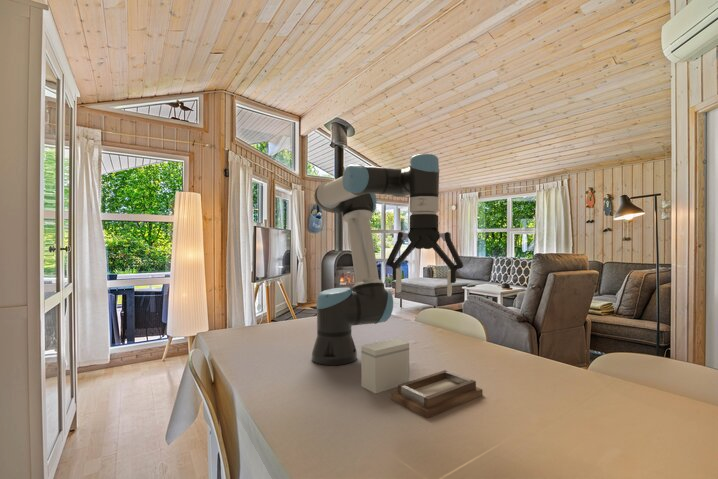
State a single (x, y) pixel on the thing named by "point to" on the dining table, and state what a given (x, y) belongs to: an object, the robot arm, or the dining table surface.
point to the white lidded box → (384, 365)
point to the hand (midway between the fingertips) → (423, 293)
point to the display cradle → (436, 393)
